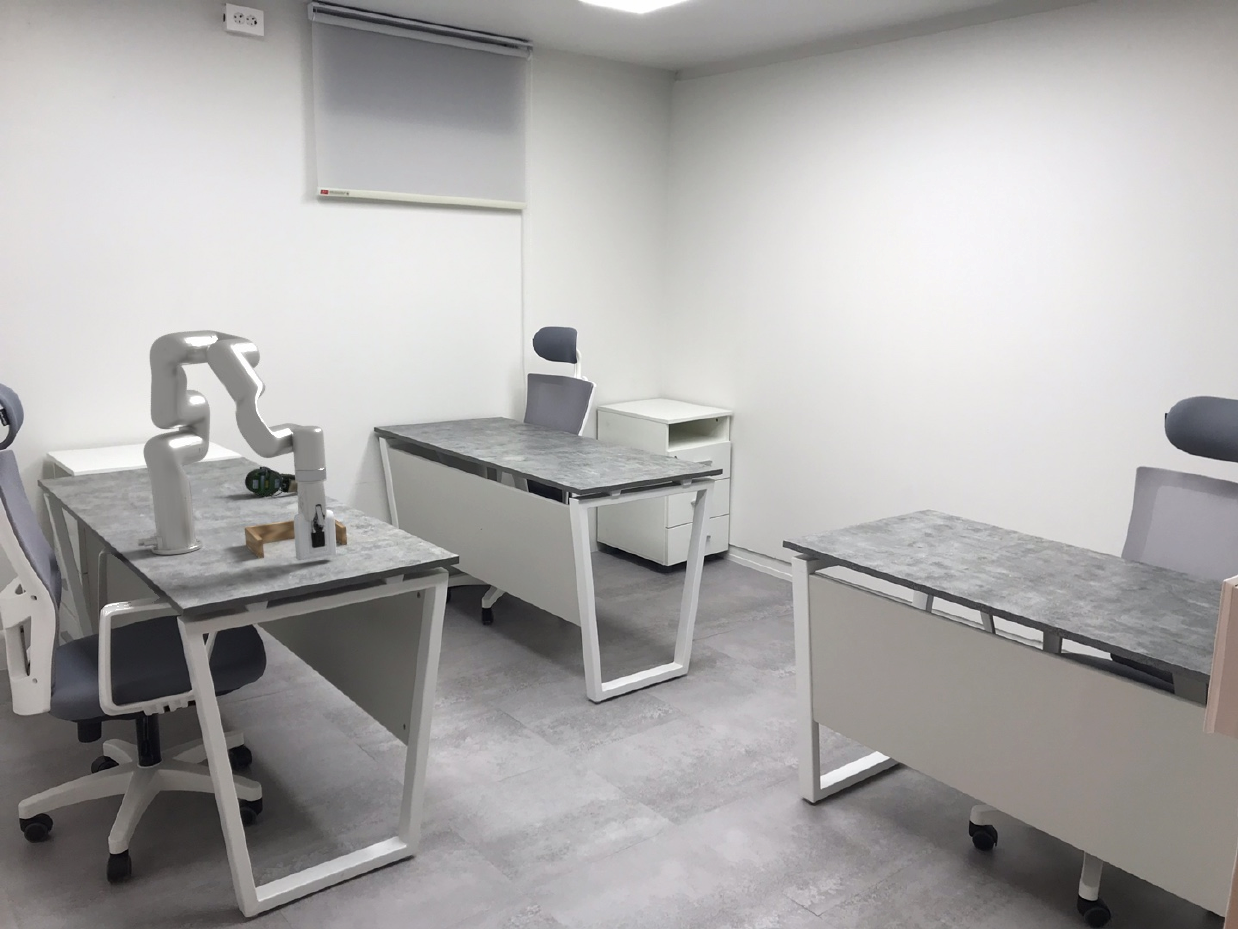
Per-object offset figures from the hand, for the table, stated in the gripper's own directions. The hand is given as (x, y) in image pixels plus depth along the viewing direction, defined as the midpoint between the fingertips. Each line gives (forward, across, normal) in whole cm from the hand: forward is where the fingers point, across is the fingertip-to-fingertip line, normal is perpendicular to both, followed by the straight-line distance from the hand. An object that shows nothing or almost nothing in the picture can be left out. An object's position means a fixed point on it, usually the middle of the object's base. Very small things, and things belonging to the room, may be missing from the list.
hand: (315, 543), depth 246 cm
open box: (+5, -20, 0) cm, 20 cm away
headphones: (+5, -88, +12) cm, 88 cm away
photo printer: (+4, 0, 0) cm, 4 cm away
